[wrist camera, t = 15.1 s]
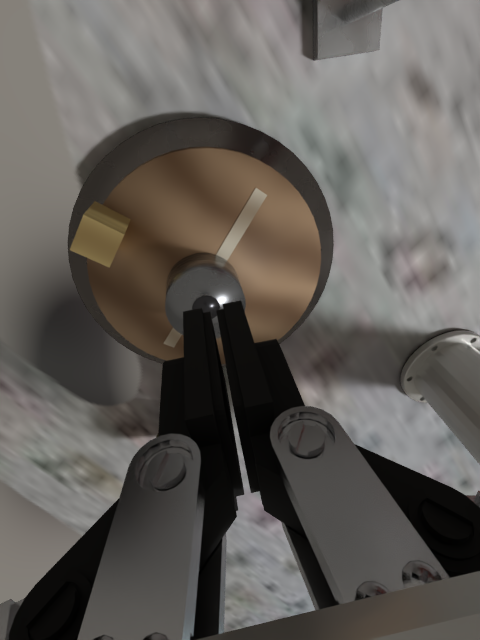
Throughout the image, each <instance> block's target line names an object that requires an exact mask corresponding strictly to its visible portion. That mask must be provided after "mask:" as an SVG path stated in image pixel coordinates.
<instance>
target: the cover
mask: <svg viewBox="0 0 480 640" xmlns="http://www.w3.org/2000/svg"><path fill="white" fill-rule="evenodd" d="M240 300H241V302H242V305H243V308H244V311H245V308H246V301H245V296H244V293H243V290H242V287H241V284H240V281H239V278H238V275H237V273H236V271H235V269H234V268H233V266H232V265H231V264H230V263H229V262H228V261H227V260H225V259H224V258H222V257H220V256H218V255H215V254H211V253H195V254H192V255H189V256H186V257H184V258H183V259H181V260H180V261H178V262H177V263H176V264H175V265H174V266H173V268H172V269H171V271H170V273H169V275H168V278H167V284H166V300H165V312H166V316H167V318H168V321H169V322H170V324H171V325H172V327H173V328H174V329H175V330H176V331H177V332H179V333H180V334H182V335H183V311H189V310H194V309H199V308H202V310H203V313H204V312H210V313H211V317H212V322H213V326H214V331H215V336H216V339H217V338H220V337H221V335H220V329H219V324H218V318H217V312H216V310H220V309H223V304H225V303H230V302H235V301H240Z"/></svg>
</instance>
